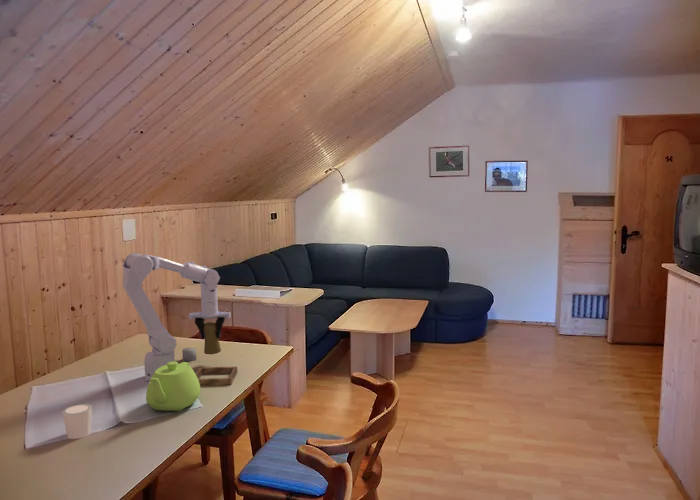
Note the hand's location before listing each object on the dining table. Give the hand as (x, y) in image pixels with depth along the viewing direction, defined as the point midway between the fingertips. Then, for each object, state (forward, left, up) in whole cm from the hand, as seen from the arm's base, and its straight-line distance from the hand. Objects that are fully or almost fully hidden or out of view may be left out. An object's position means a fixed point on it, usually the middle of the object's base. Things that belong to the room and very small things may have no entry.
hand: (211, 337), depth 189 cm
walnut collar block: (+4, -14, -10) cm, 18 cm away
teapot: (-4, -36, -11) cm, 37 cm away
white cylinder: (-24, -52, -11) cm, 58 cm away
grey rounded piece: (-10, +7, -10) cm, 16 cm away
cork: (0, 0, -6) cm, 6 cm away
